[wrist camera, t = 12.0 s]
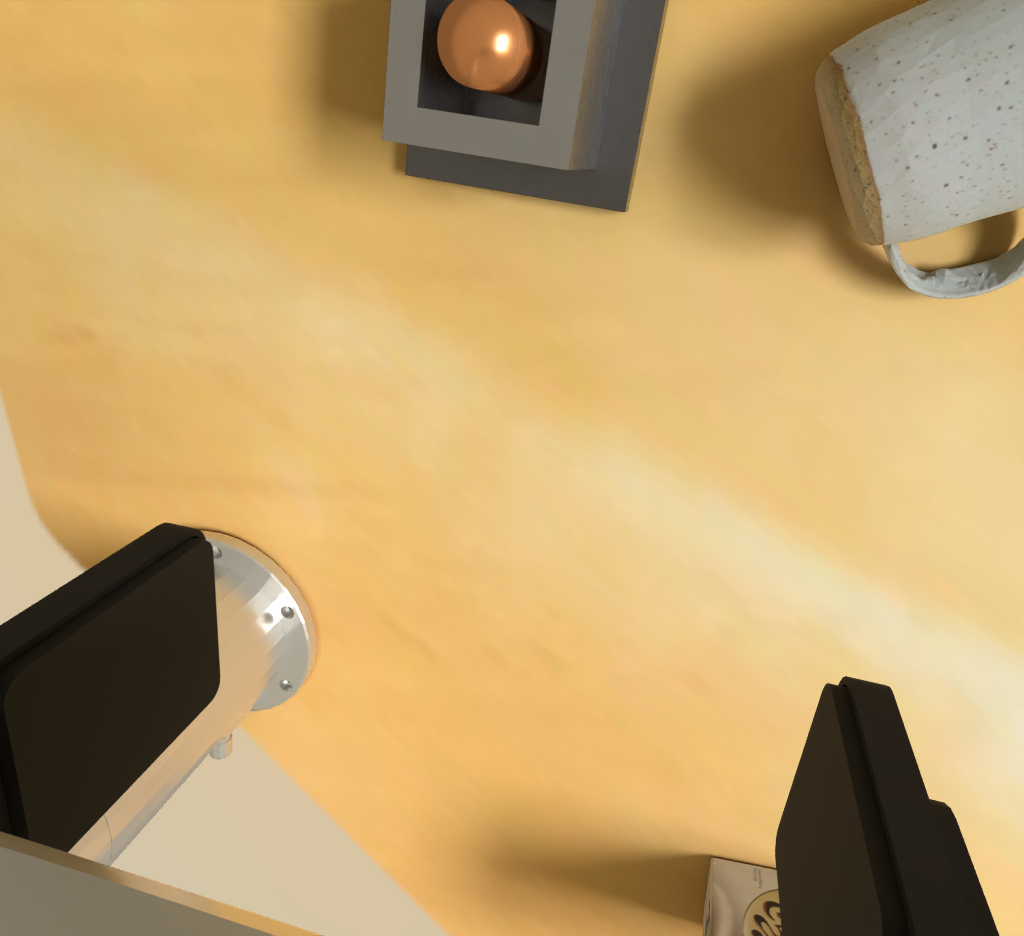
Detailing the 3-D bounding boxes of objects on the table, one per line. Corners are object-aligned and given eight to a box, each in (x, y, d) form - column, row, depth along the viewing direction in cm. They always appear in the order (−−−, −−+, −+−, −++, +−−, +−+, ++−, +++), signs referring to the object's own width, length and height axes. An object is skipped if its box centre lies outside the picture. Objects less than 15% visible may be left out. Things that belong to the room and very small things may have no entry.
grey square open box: (595, 168, 32) (568, 170, 26) (438, 143, 33) (382, 139, 28) (629, -27, 29) (606, -70, 24) (456, -47, 30) (397, -91, 25)
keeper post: (627, 210, 33) (599, 224, 26) (413, 174, 35) (331, 178, 28) (680, -62, 29) (663, -136, 22) (434, -87, 31) (344, -162, 24)
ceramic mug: (795, 67, 30) (815, 45, 23) (1035, -44, 26) (1142, -110, 20) (868, 321, 32) (905, 369, 25) (1092, 247, 29) (1203, 278, 22)
